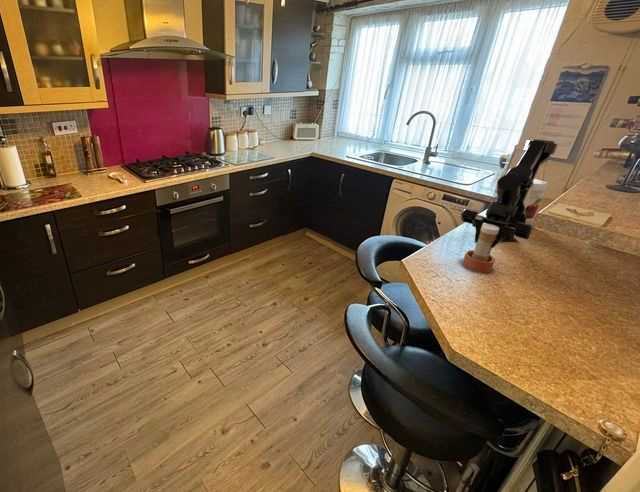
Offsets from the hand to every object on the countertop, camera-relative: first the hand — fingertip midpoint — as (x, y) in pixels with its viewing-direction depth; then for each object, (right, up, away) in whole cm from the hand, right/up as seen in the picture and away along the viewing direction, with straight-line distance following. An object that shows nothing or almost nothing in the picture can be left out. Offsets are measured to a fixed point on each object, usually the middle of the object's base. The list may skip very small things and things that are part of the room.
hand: (483, 244), depth 105 cm
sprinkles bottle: (+1, -6, +4) cm, 7 cm away
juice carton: (+43, +7, +36) cm, 57 cm away
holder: (+1, -8, +4) cm, 9 cm away
